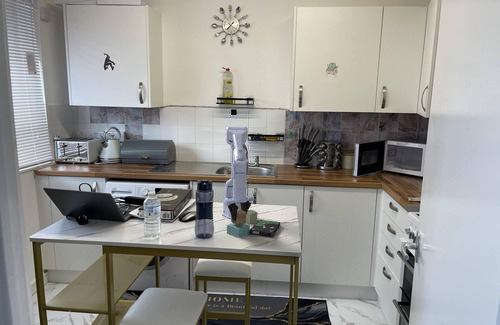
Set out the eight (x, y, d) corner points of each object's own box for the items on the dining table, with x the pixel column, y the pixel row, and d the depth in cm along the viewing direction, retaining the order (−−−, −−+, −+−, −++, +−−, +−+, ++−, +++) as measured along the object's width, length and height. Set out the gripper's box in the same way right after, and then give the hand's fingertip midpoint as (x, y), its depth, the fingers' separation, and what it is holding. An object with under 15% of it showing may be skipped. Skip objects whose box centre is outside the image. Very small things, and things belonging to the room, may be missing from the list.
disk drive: (272, 239, 161) (280, 227, 175) (272, 233, 161) (280, 221, 175) (249, 235, 164) (258, 224, 178) (249, 229, 164) (258, 218, 178)
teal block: (226, 233, 164) (226, 225, 164) (237, 229, 170) (237, 221, 169) (238, 238, 160) (239, 229, 159) (249, 234, 165) (249, 225, 165)
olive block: (243, 221, 181) (244, 211, 180) (251, 219, 184) (251, 209, 183) (249, 224, 177) (250, 213, 176) (257, 222, 180) (257, 212, 179)
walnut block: (231, 222, 164) (231, 211, 164) (239, 220, 167) (239, 209, 166) (237, 225, 161) (237, 213, 160) (245, 223, 164) (246, 212, 163)
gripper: (231, 192, 154) (230, 225, 156) (258, 188, 163) (257, 218, 165) (221, 189, 159) (220, 220, 162) (248, 184, 168) (247, 214, 171)
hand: (238, 219), depth 164 cm, fingers closed on walnut block, 4 cm apart
